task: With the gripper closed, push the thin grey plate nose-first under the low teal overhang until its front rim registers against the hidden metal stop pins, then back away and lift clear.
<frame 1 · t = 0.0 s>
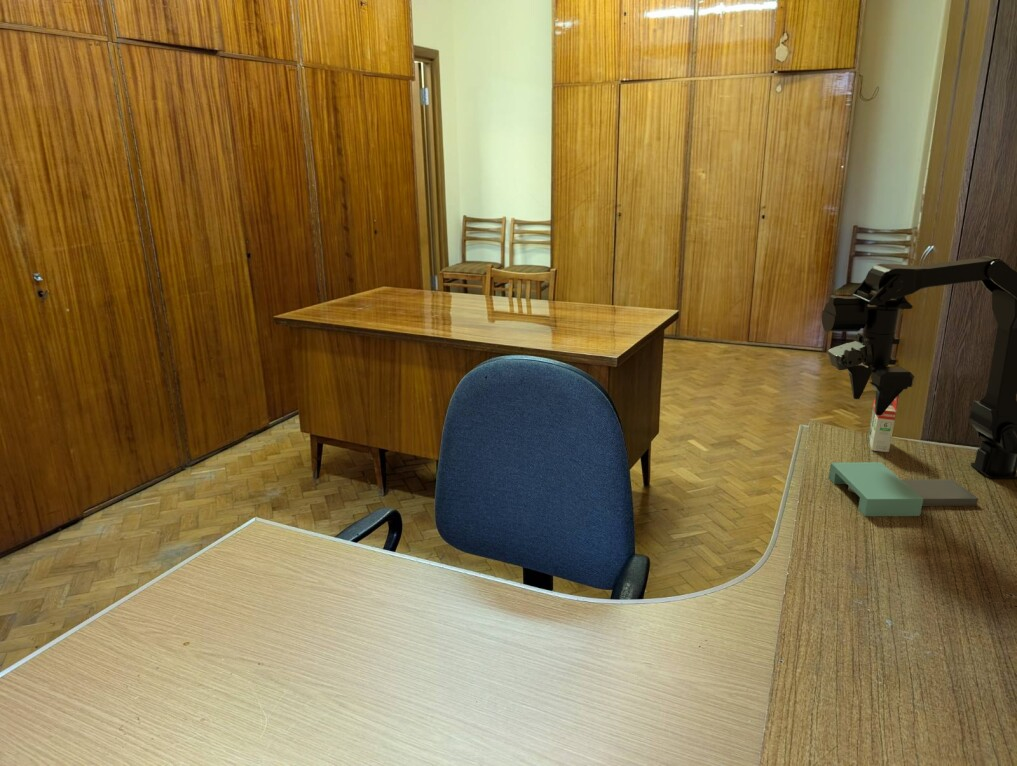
hand: (867, 406, 137), 15 cm above the table, fingers open, 9 cm apart
thin grey plate: (934, 495, 132), on the table
overhang: (871, 496, 132), on the table
ink box: (877, 446, 155), on the table
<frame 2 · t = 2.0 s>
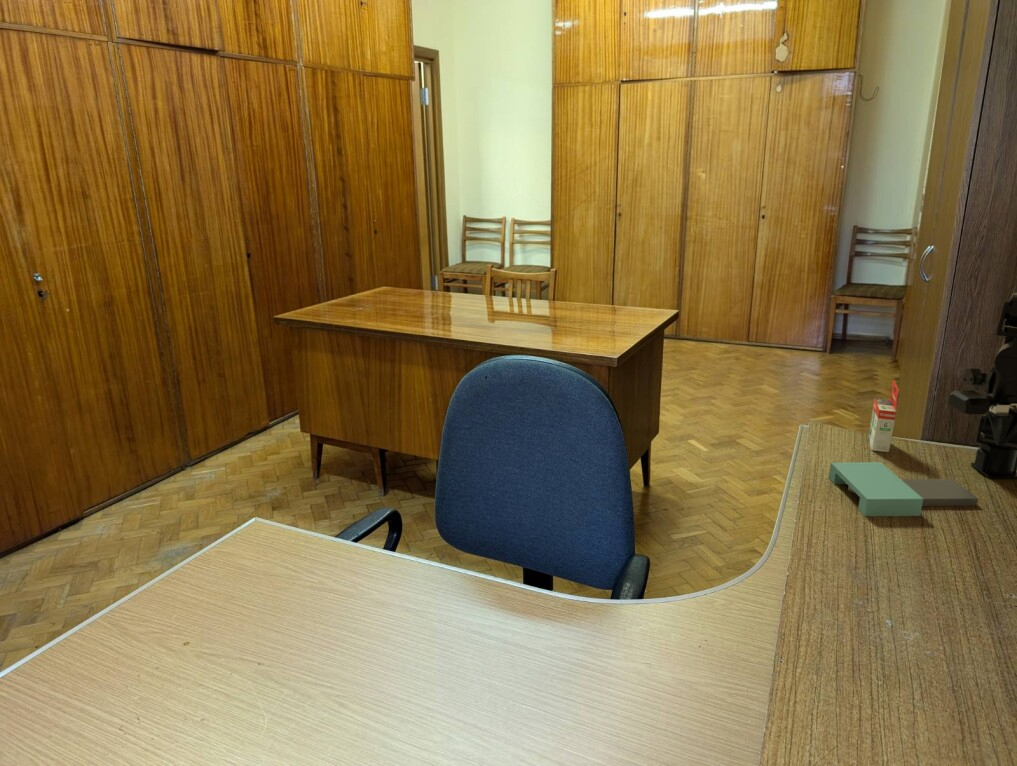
hand: (998, 444, 128), 11 cm above the table, fingers closed
nothing on the table moved.
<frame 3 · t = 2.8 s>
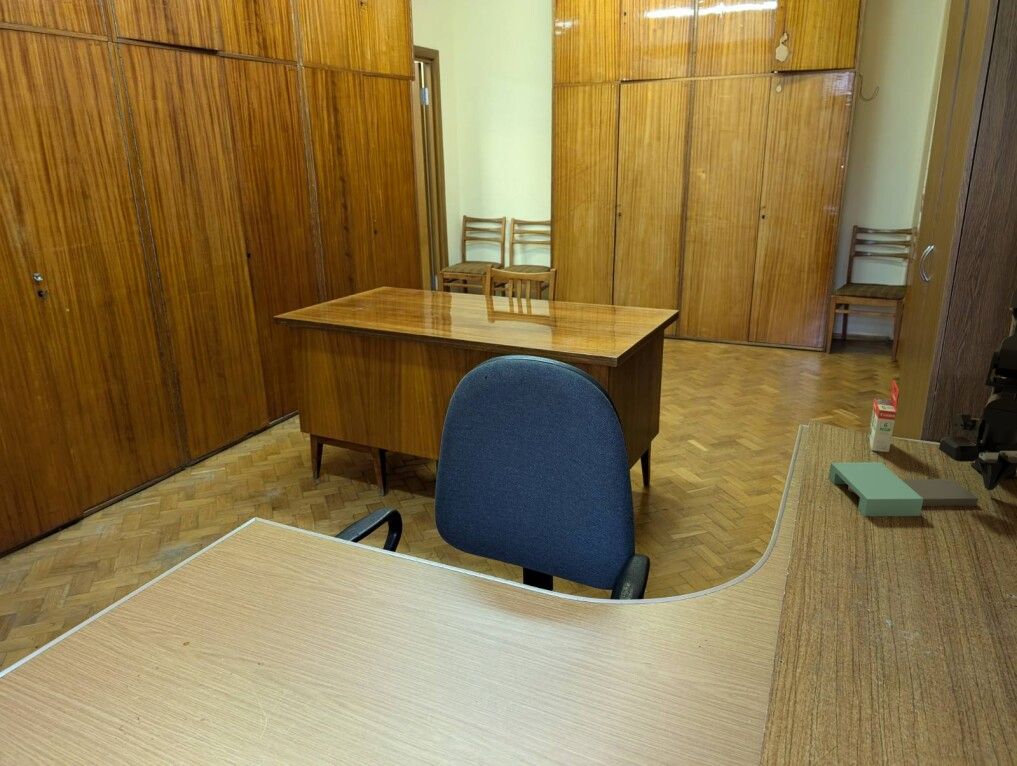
hand: (988, 489, 131), 1 cm above the table, fingers closed
nothing on the table moved.
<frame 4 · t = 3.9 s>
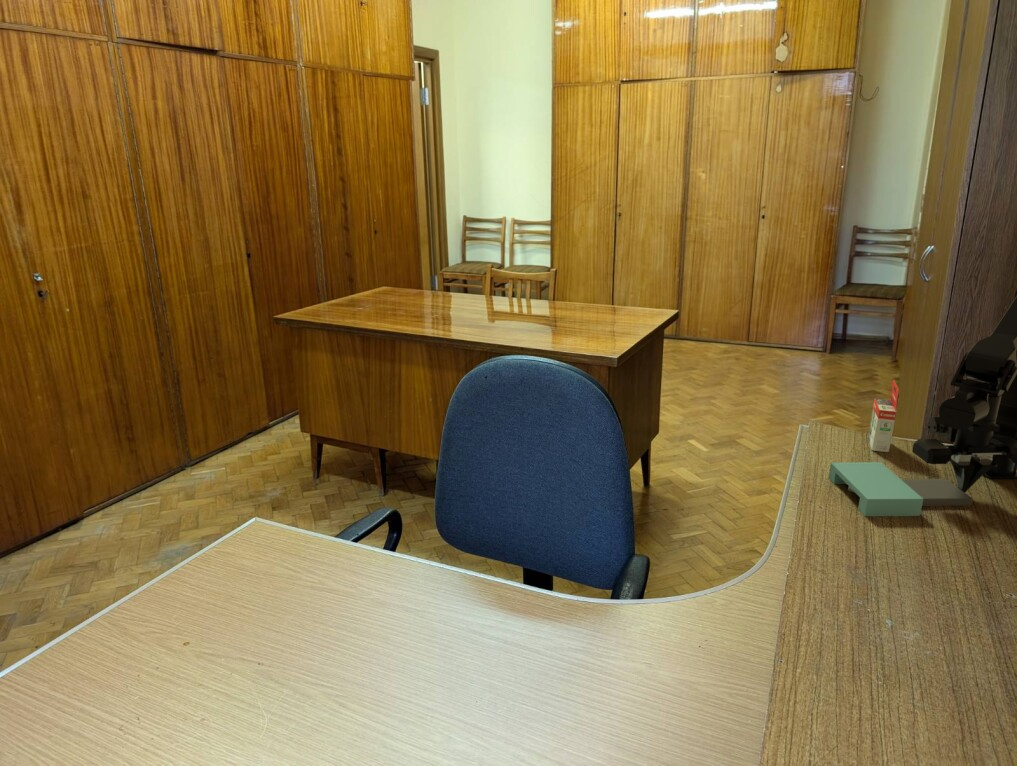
hand: (961, 491, 131), 1 cm above the table, fingers closed
thin grey plate: (928, 495, 132), on the table, touching gripper
everything else where it was.
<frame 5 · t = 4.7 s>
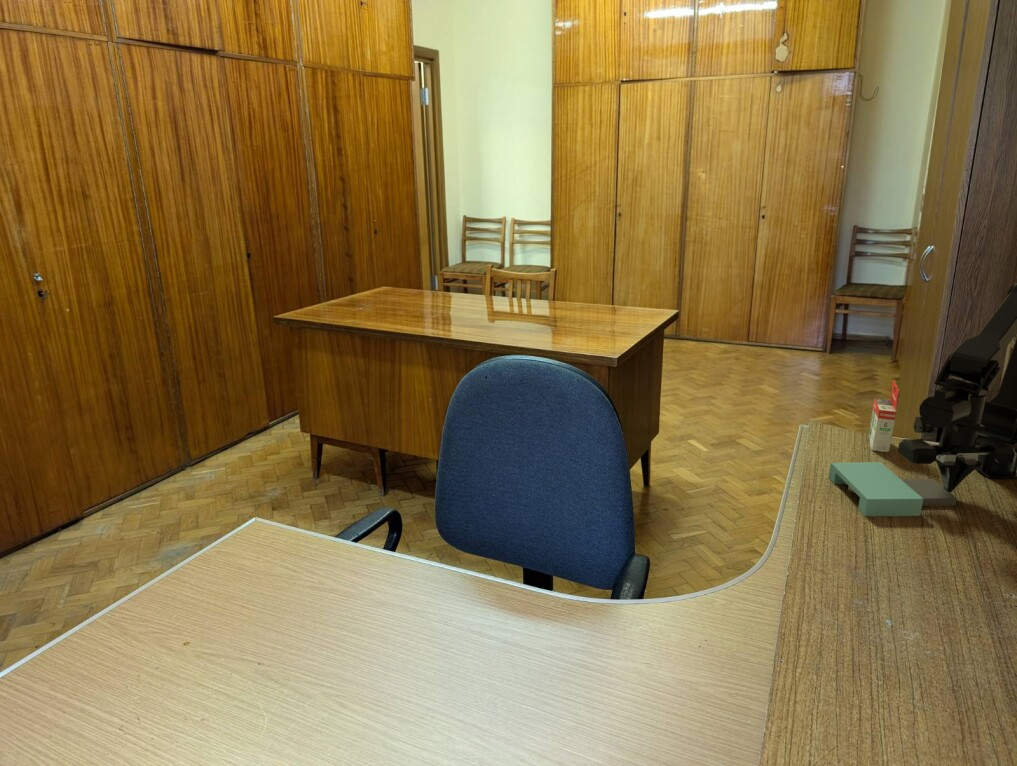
hand: (947, 491, 131), 1 cm above the table, fingers closed
thin grey plate: (913, 495, 132), on the table, touching gripper
everything else where it was.
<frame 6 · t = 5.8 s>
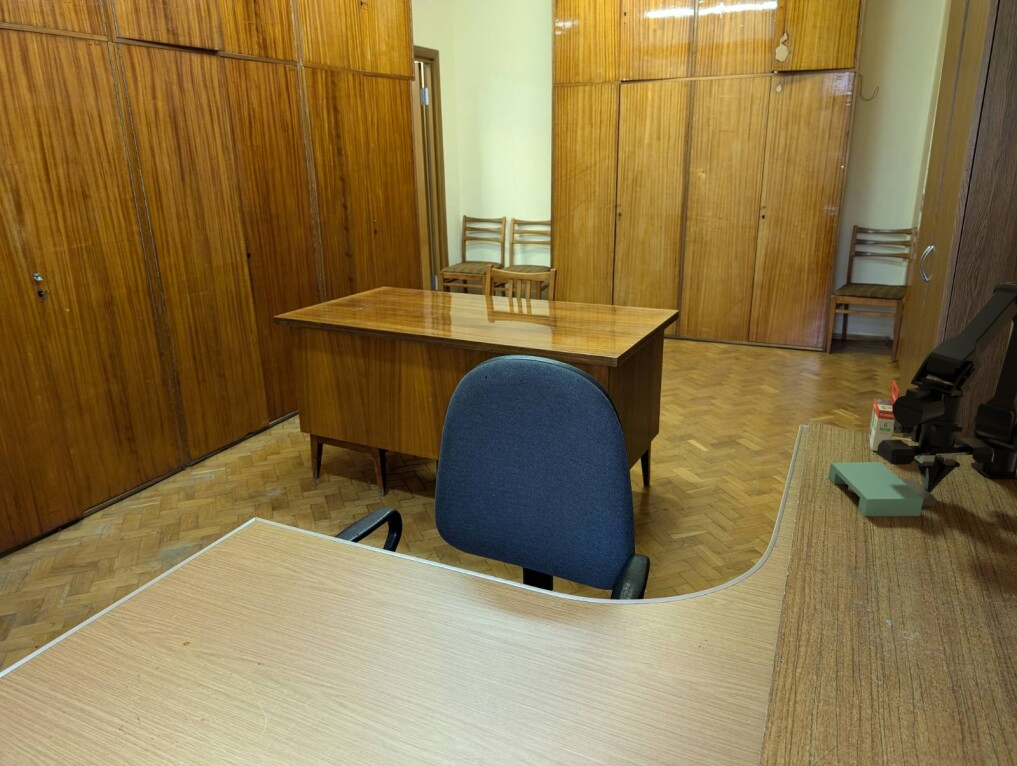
hand: (927, 491, 132), 1 cm above the table, fingers closed
thin grey plate: (894, 495, 132), on the table, touching gripper
everything else where it was.
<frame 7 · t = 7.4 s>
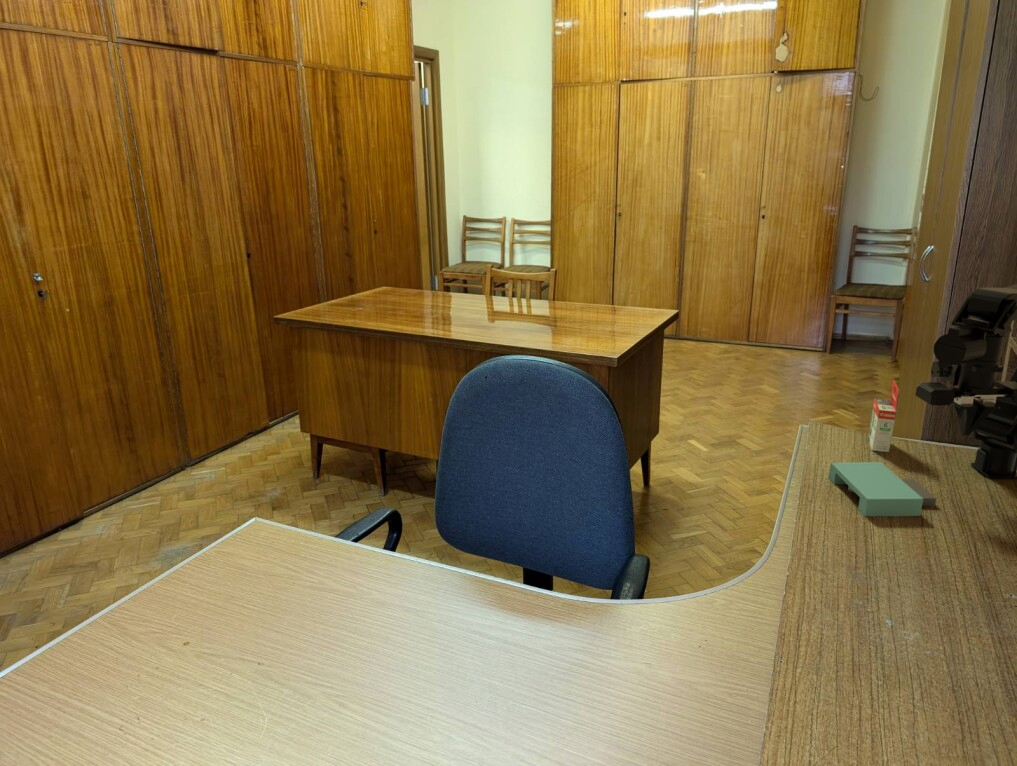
hand: (964, 435, 132), 11 cm above the table, fingers closed
thin grey plate: (894, 495, 132), on the table
everything else where it was.
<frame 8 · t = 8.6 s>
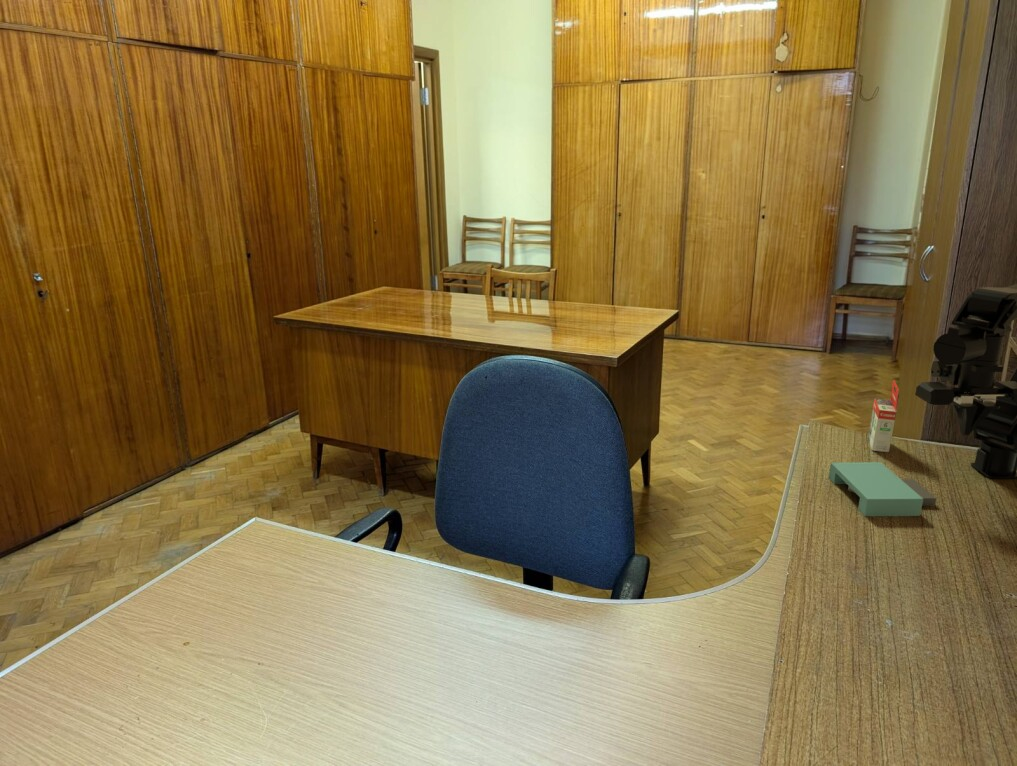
hand: (964, 434, 132), 11 cm above the table, fingers closed
nothing on the table moved.
at the end: thin grey plate 0.7 cm from the target spot on the overhang, point 0.0 cm above the overhang's base; thin grey plate tilted 0°; the gripper is holding nothing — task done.
